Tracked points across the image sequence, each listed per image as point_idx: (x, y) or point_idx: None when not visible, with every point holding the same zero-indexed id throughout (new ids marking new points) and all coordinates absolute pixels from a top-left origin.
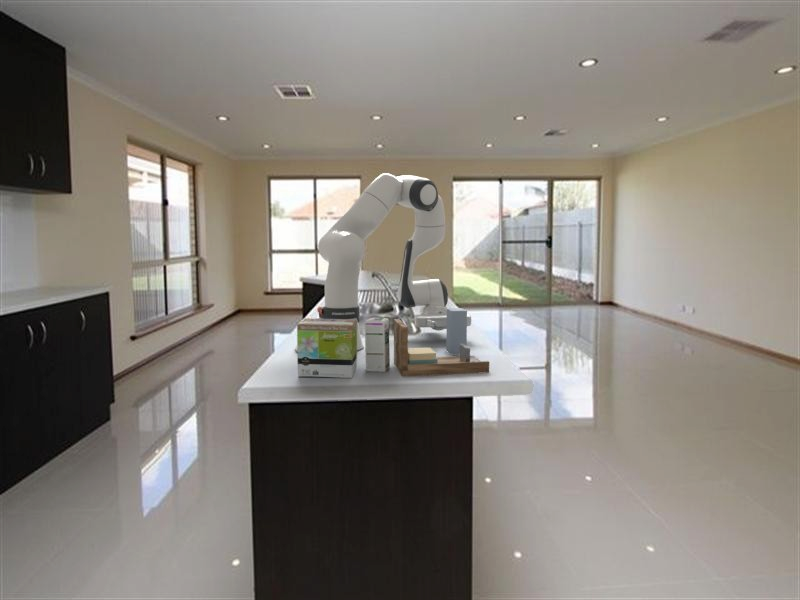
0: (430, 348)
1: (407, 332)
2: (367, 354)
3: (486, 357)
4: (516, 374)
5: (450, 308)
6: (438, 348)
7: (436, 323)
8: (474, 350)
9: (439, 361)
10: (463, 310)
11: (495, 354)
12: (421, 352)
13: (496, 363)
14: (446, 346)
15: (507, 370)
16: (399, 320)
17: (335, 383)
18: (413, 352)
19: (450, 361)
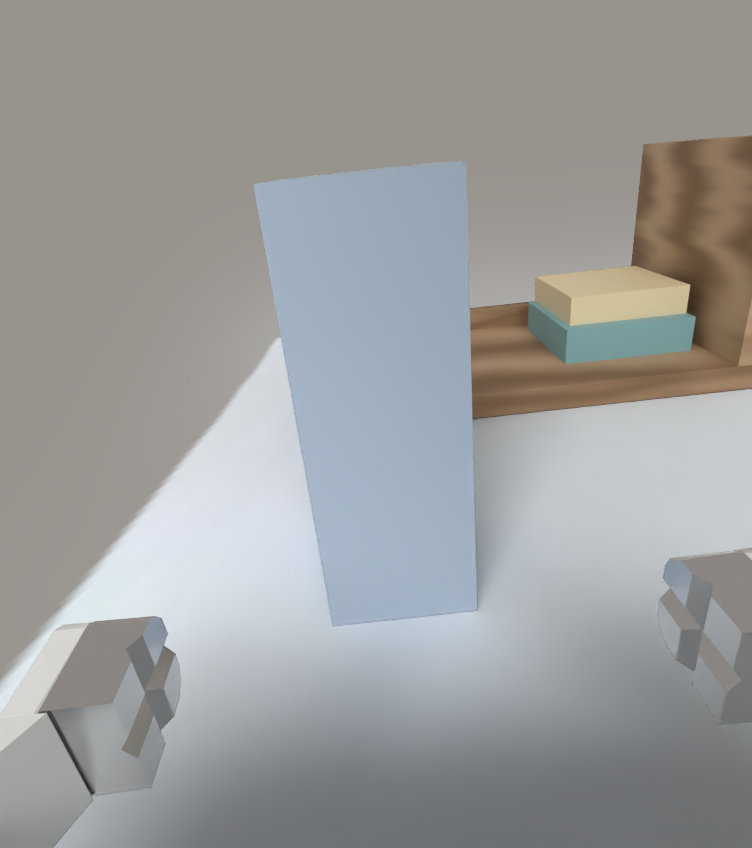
0: (566, 292)
1: (642, 167)
2: None
3: (251, 470)
4: (273, 354)
5: (414, 166)
6: (566, 701)
7: (665, 571)
8: (221, 609)
9: (523, 358)
10: (309, 176)
11: (153, 516)
12: (593, 274)
13: (264, 411)
14: (475, 577)
15: (276, 370)
16: (750, 136)
17: None
18: (626, 271)
19: (475, 360)
